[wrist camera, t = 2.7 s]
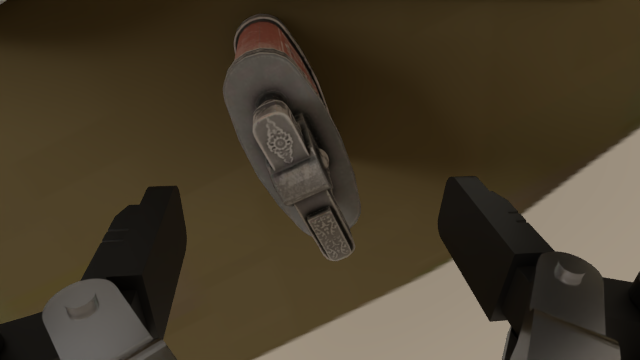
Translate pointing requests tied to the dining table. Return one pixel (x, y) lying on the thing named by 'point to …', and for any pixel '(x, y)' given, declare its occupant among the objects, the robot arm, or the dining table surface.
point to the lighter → (291, 134)
